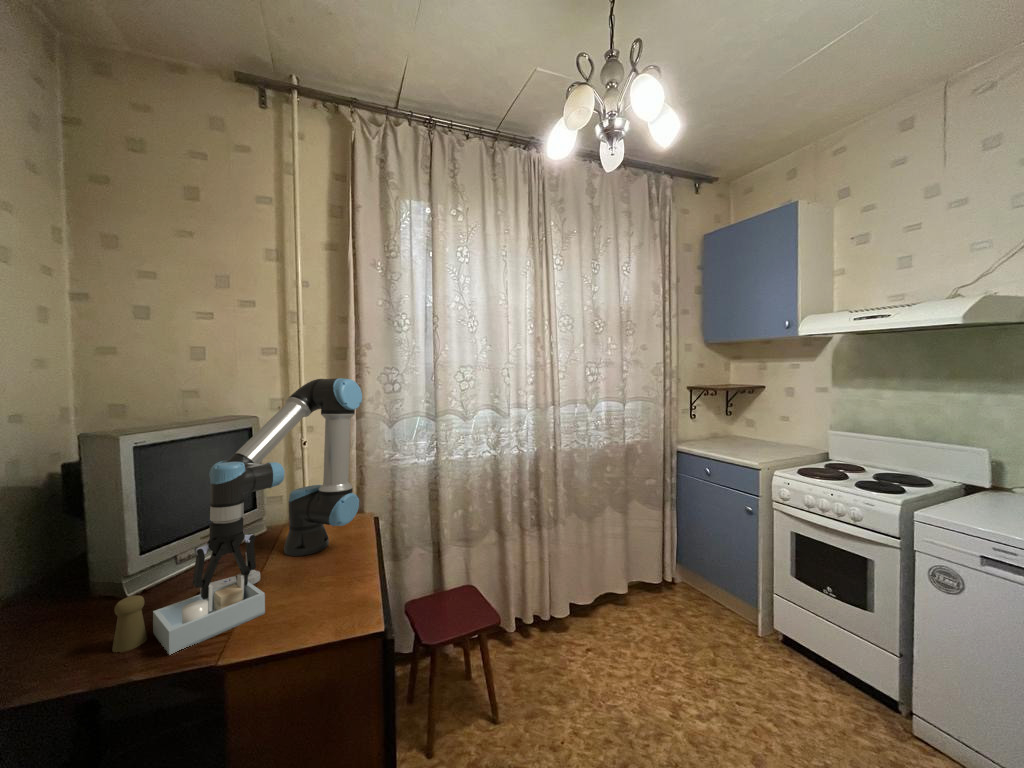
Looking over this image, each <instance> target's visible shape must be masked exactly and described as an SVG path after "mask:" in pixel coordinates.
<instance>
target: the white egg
mask: <svg viewBox="0 0 1024 768" xmlns="http://www.w3.org/2000/svg"><path fill="white" fill-rule="evenodd" d="M207 614H208V601H207V600H199V601H195V602H192V603H189V604H187V605H186V606H184V607H183V608H182V624H185V623H187V622H190V621H192V620H195V619H197V618H200V617H202V616H205V615H207Z"/></svg>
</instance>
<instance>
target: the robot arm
mask: <svg viewBox="0 0 1024 768" xmlns="http://www.w3.org/2000/svg"><path fill="white" fill-rule="evenodd" d="M362 393H363V392H362V389H361V386H359V385H358V383H357V382H356V381H355V380H353V379H350V378H343V377H339V378H317V379H313V380H311V381H308V382H307V383H305V384H304V385H301V387H299V388H298V389H296V391H294V392H292V394H291V395H290V396H289V397H287V399H286V400H285V405H284V406H282V407H281V409H279V410H278V411H277V412H276V413H275V414H274V416H272V417H271V418H270V419H269V420H268V421H267V422H266V423H265V424H264V425H263V426H261V427H260V429H258V431H256V433H254V435H253V436H251V437H250V438H249V439H248V440H247V441H246V442H245V443H244V444H243V445H242V446H240V448H239V449H238V450H237V451H236V452H235V453H234V454H233V455H231V456H230V457H229V458H228V460H221V461H218V462H216V463H215V464H213V465H212V466H211V468H210V470H209V475H208V476H209V477H208V478H209V479H210V505H209V506H210V508H209V509H210V511H209V512H210V513H209V521H211V522H210V523H209V534H208V535H209V538H208V541H207V543H206V544H204V545H203V546H197V547H195V548H194V553H195V562H194V569H193V577H192V582H191V583H192V586H193V587H195V588H197V589H199V588H200V589H201V598H202V599H203V600H207V601H208V612H210V611H212V593H213V586H212V585H211V584H210V583H211V582H212V579H213V576H214V573H215V571H216V569H217V566H218V564H219V562H220V560H221V559H222V557H223V556H225V555H226V554H232V555H233V558H234V560H235V562H236V564H237V565H238V568H239V571H240V572H239V573H237V586H238V587H240V588H241V589H242V599H244V586H245V585H247V583H248V575H249V573H250V571H251V570H256V568H257V566H256V565H257V564H256V553H255V541H256V535H254V534H252V533H248V534H245V533H244V518H243V517H244V513H245V512H244V511H245V510H244V509H245V506H244V505H245V495H246V494H250V493H253V492H258V491H261V490H266V489H271V488H273V487H277V486H279V485H280V484H281V485H282V483H283V481H284V480H285V468H284V467H283V465H282V464H281V463H280V462H277V461H273V462H269V461H268V462H266V463H262V461H263V460H264V459H265V458H266V457H267V456H268V455H269V454H270V453H271V452H272V450H274V448H276V447H277V445H279V444H280V443H281V441H283V439H284V438H286V436H287V435H288V434H289V433H290V432H291V431H292V430H293V429H294V428H295V427H296V426H297V424H299V422H301V420H302V419H303V418H307V417H309V416H311V414H312V413H313V412H315V411H318V410H320V415H321V416H322V417H323V418H324V419H325V422H324V423H325V424H324V447H323V448H324V449H323V480H322V481H323V483H322V484H312V485H308V486H303V487H299V488H295V489H294V490H291V491H290V493H289V495H288V502H287V503H288V521H289V523H288V526H289V528H288V534H287V536H286V539H285V543H284V545H283V553H284V555H287V556H290V557H301V556H302V557H303V556H309V555H312V554H317V553H320V552H321V551H323V550H325V549H326V548H327V547H328V546H329V543H330V540H329V535H328V532H327V530H326V528H325V525H329V526H332V527H343V526H346V525H348V524H349V523H351V522H352V521H353V520H354V518H355V517H356V516H357V513H358V510H359V508H360V507H359V506H360V499H359V497H358V496H357V494H355V493H353V492H354V491H353V490H354V489H353V488H354V487H353V485H352V484H351V483H350V482H349V478H350V477H349V476H350V475H349V474H350V473H349V471H350V469H349V468H350V441H351V436H350V435H351V419H352V418H353V417H354V416H355V415H356V410H357V409H358V408H359V407H360V405H361V404H362V402H363V394H362ZM242 542H244V543H245V551H246V552H245V554H246V553H247V564H248V566H246V560H245V559H244V556H243V554H242V551H241V549H240V545H241V544H242ZM208 550H211V555H210V559H209V561H208V564H207V567H206V569H205V572H204V565H205V559H206V554H207V552H208ZM203 573H204V574H203Z"/></svg>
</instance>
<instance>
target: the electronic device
mask: <svg viewBox="0 0 1024 768" xmlns="http://www.w3.org/2000/svg"><path fill="white" fill-rule="evenodd" d="M245 563H246V566H248V564H247V553H246V552H245ZM236 581H237V575H234V576H230V577H226V578H223V579H218V580H215V581H211V582H210V584H211V585H212V586H213V589H216V588H219V587H222V586H225V585H227V584H230V583H233V582H236ZM260 581H261V572H260V570H256V569H254V570H251V571H250V573H249V575H248V582H250V583H251V584H253V585H256V584H257V583H258V582H260ZM200 594H201V588H200V589H199V595H200Z"/></svg>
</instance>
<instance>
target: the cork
mask: <svg viewBox="0 0 1024 768" xmlns="http://www.w3.org/2000/svg"><path fill="white" fill-rule="evenodd" d="M144 605H145V599H144V597H143V596H142V595H131V596H127V597H124V598H122V599H121V600H119V601H118V602H117V603H116V604H115V606H114V611H113V612H114V614H115V616H116V617H117V620H116V624H115V632H114V637H113V643H112V649H111V650H112V653H115V652H116V653H117V652H120V653H124V652H128V651H131V650H133V649H134V650H135V649H136V648H138V647H140V646H142V645H143V644H145V643H146V641H147V640H148V636H147V630H146V625H145V621H144V620H145V619H144V615H143V610H142V609H143V607H144ZM141 644H142V645H141ZM117 654H118V653H117Z"/></svg>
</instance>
